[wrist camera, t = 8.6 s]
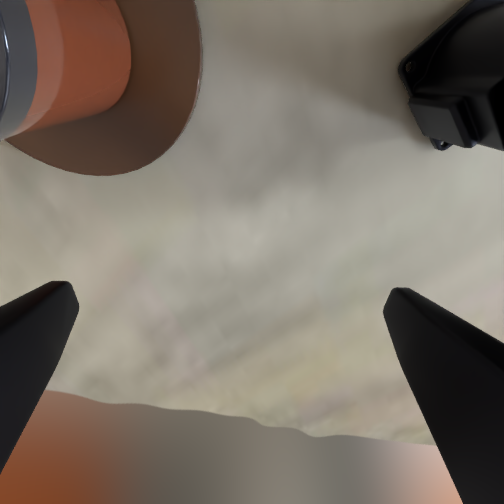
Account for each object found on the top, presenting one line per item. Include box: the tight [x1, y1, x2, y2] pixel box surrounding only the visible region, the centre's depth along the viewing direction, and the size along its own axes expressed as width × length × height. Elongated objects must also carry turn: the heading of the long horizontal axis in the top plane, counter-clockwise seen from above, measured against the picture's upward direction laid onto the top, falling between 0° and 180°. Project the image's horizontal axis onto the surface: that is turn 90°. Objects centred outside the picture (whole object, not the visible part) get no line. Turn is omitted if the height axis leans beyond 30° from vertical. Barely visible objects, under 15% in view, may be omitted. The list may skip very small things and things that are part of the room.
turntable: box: [4, 0, 203, 176], centre depth 14 cm, size 14×14×1 cm
